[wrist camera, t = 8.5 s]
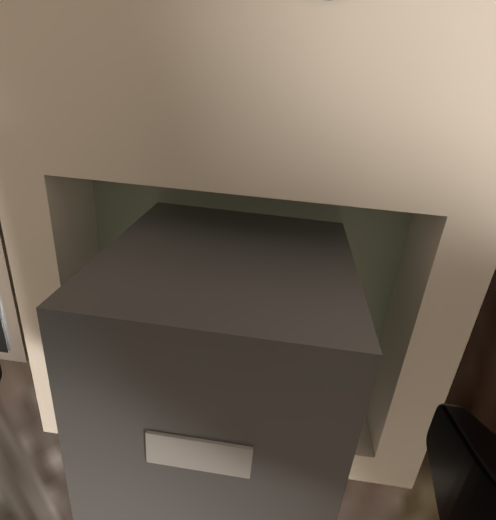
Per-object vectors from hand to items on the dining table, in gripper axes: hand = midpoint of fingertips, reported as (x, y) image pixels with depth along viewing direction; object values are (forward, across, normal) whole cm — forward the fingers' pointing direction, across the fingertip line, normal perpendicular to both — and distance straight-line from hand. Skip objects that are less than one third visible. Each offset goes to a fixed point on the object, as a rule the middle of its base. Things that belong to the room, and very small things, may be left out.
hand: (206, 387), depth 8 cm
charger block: (+4, 0, 0) cm, 4 cm away
